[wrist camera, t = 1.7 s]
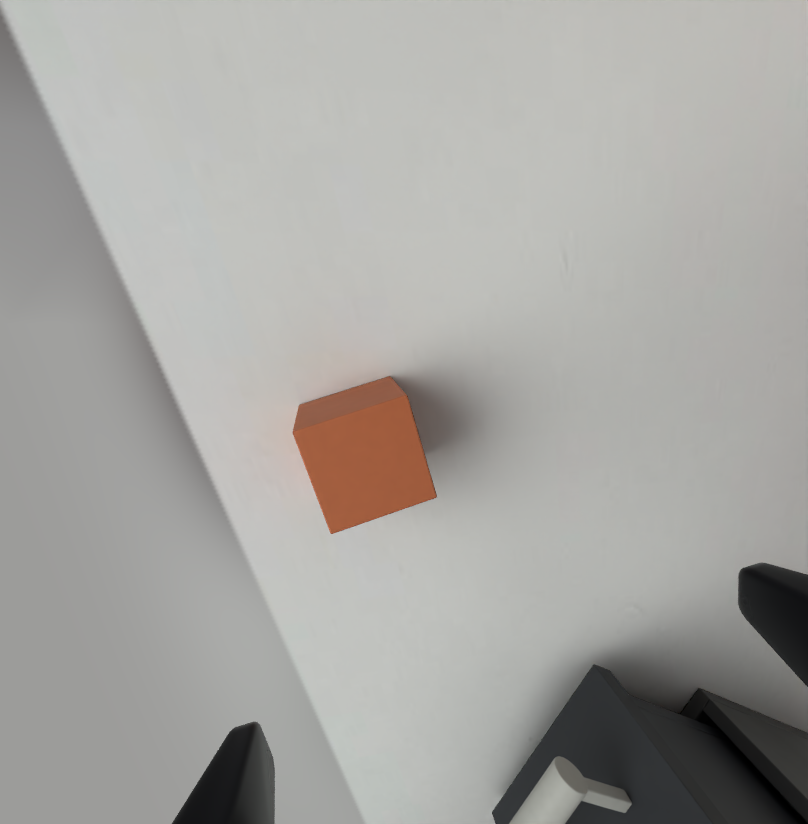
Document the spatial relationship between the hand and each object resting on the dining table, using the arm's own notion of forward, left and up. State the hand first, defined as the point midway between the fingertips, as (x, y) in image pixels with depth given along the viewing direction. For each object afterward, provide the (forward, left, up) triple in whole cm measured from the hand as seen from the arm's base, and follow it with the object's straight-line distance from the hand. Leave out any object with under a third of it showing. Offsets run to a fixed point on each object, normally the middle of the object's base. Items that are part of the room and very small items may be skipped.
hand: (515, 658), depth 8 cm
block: (-2, 0, -12) cm, 12 cm away
